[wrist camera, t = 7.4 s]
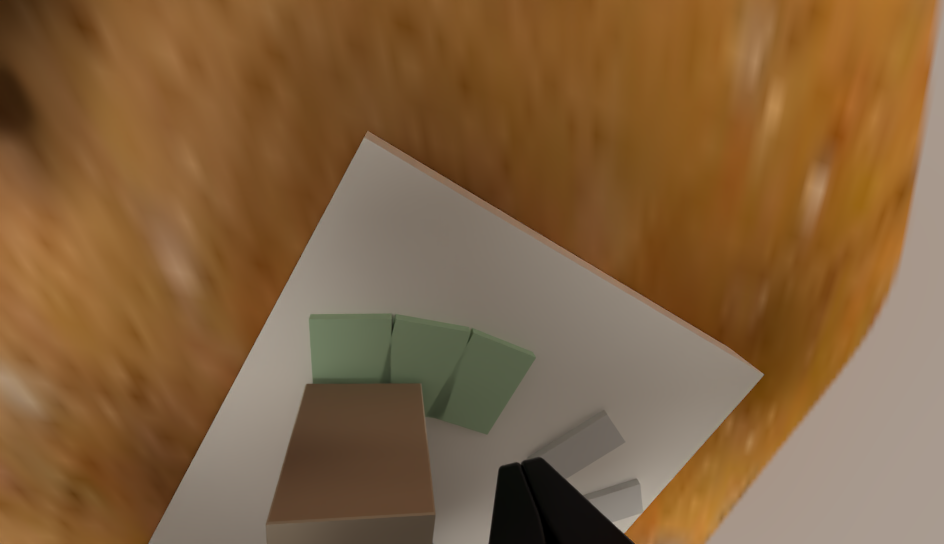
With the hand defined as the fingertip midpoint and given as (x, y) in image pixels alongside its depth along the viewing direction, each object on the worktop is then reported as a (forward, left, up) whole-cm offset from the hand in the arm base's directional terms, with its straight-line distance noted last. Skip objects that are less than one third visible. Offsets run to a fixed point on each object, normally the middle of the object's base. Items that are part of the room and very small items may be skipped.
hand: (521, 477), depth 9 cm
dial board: (-3, 0, -2) cm, 3 cm away
